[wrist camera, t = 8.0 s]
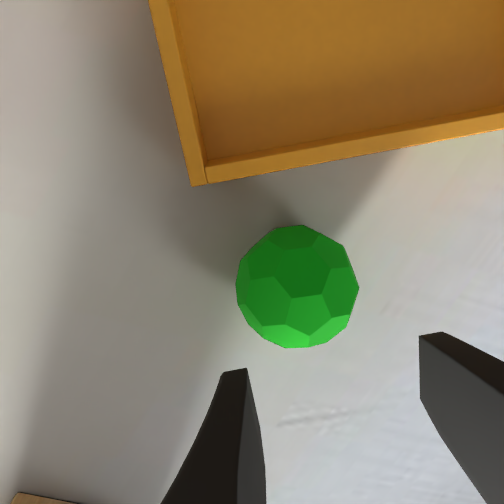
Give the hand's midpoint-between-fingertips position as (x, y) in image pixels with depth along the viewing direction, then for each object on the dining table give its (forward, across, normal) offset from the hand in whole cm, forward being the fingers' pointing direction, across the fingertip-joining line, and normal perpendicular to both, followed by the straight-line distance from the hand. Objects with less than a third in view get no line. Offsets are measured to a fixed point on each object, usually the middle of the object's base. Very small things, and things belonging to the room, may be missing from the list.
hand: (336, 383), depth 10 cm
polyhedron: (+9, 0, 0) cm, 9 cm away
